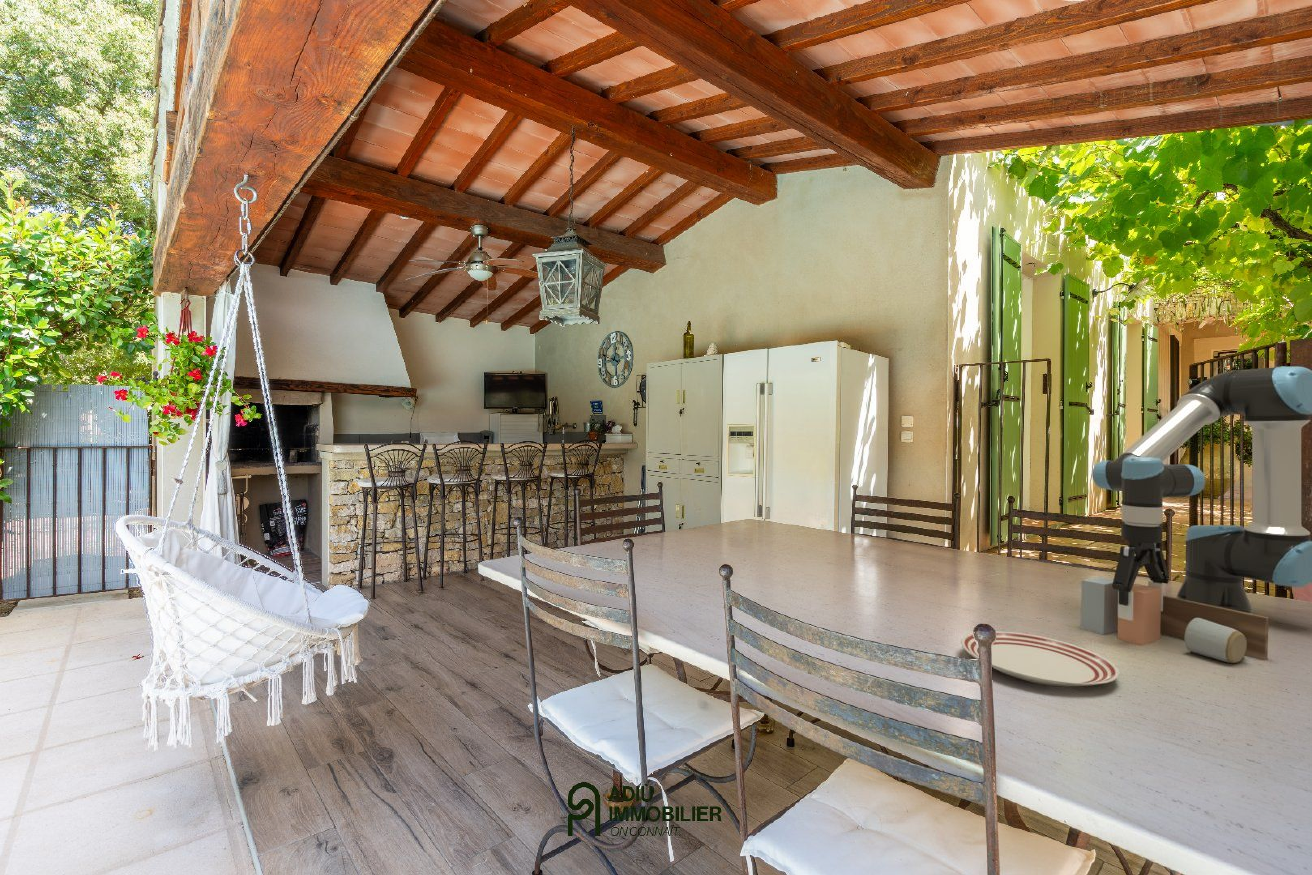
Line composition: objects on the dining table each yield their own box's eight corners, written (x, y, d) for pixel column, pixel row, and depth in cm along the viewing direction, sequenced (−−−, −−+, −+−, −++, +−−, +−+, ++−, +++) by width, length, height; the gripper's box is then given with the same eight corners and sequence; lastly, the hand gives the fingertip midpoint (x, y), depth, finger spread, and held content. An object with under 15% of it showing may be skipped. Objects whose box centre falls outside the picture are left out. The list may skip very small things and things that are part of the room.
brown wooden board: (1101, 617, 160) (1102, 582, 160) (1267, 658, 131) (1268, 617, 131) (1098, 617, 159) (1099, 583, 159) (1264, 659, 131) (1265, 618, 131)
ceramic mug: (1229, 667, 127) (1230, 630, 127) (1182, 653, 134) (1183, 618, 134) (1256, 661, 131) (1258, 625, 131) (1209, 648, 138) (1211, 614, 138)
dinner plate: (1091, 654, 134) (1092, 638, 134) (1143, 708, 108) (1144, 689, 108) (953, 638, 143) (953, 624, 143) (970, 684, 118) (971, 667, 117)
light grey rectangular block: (1098, 623, 154) (1099, 576, 154) (1120, 629, 150) (1122, 580, 150) (1080, 628, 151) (1081, 579, 150) (1103, 634, 146) (1104, 584, 146)
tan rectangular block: (1135, 633, 147) (1136, 583, 147) (1160, 639, 143) (1161, 588, 143) (1117, 638, 144) (1118, 587, 143) (1142, 645, 139) (1143, 592, 139)
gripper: (1149, 517, 152) (1148, 602, 152) (1094, 526, 140) (1093, 618, 141) (1187, 521, 145) (1186, 610, 146) (1132, 531, 134) (1131, 627, 134)
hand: (1140, 614), depth 143 cm, fingers open, 13 cm apart
